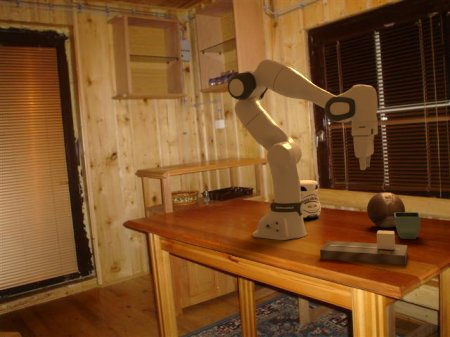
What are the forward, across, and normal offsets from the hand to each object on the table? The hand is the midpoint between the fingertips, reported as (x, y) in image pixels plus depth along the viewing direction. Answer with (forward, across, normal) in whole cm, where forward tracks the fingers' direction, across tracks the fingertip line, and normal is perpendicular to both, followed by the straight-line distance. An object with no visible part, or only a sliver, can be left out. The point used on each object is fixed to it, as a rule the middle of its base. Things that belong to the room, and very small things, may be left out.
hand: (365, 168), depth 148 cm
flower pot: (+28, -12, +13) cm, 33 cm away
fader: (+24, +16, +9) cm, 30 cm away
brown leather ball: (+28, -28, +4) cm, 40 cm away
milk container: (+29, -42, -36) cm, 62 cm away
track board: (+28, +16, +2) cm, 32 cm away
